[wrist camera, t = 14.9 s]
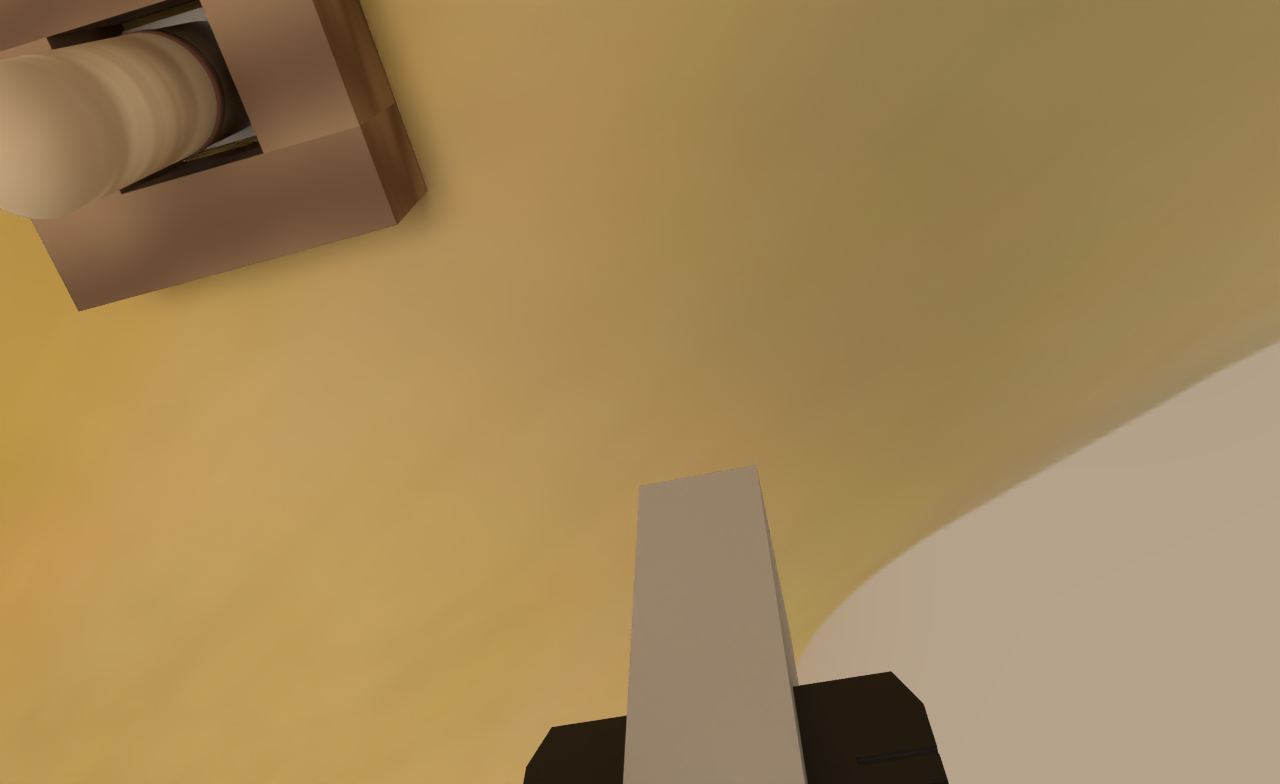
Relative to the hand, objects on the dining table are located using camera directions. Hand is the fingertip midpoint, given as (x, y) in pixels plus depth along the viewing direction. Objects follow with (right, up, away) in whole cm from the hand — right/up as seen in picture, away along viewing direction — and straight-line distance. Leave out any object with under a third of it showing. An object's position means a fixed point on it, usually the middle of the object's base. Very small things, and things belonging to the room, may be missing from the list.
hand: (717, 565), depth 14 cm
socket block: (-17, +14, +25) cm, 33 cm away
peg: (-16, +13, +24) cm, 32 cm away
